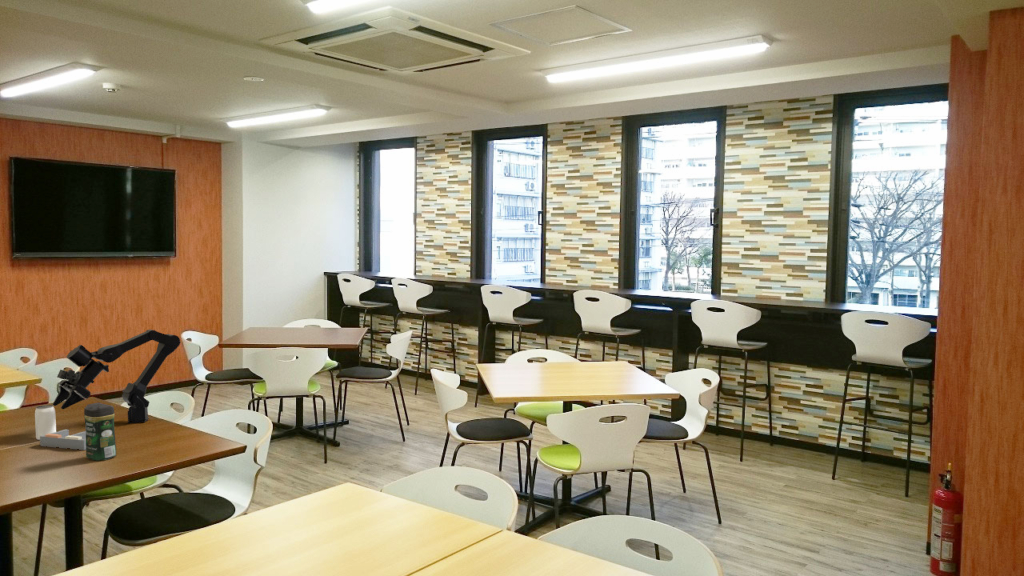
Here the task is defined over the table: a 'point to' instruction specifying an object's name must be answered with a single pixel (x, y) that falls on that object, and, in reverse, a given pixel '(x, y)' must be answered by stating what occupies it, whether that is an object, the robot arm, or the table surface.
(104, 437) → the coffee jar
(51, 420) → the can
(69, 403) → the robot arm
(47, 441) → the dock
